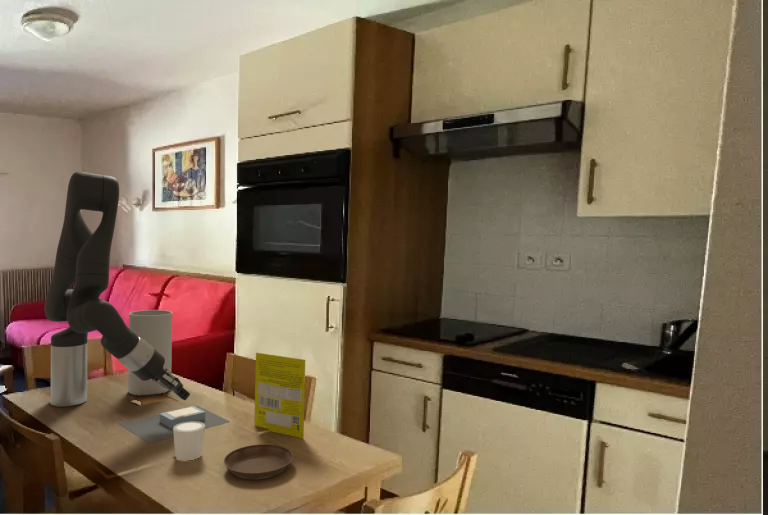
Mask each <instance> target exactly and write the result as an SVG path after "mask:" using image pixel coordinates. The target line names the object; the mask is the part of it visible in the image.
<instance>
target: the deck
mask: <svg viewBox="0 0 768 515" xmlns="http://www.w3.org/2000/svg"><path fill="white" fill-rule="evenodd" d="M195 406H196V405H195ZM195 406H194V405H191V406H187V407H184V408H179V409H174V410H169V411H166V412H165V411H164V412H161V413H160V412H159V414H160V422H161V423H163V424H164V425H166V426H168V427H169V428H173V427H174V426H175V425H177V424H180V423H183V422H191V421H195V422H199V421H203V420H205V411H203V410H201V409H199V408H197V407H195Z"/></svg>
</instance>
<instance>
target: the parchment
mask: <svg viewBox="0 0 768 515" xmlns="http://www.w3.org/2000/svg"><path fill="white" fill-rule="evenodd" d="M136 397H137V398H136ZM136 397H135V398H134V399H135V400H137V401H140V402H141V404H143V405H144V406H145V405H149V404H155V403H158V402H159V403H160V402H164V401H169V400H170V401H173V402H178V400H177V399H176V398H173V397H170V396H168V395H164V394H153V395H140V396H139V397H138V396H136ZM143 405H142V406H143Z"/></svg>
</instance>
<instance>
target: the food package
mask: <svg viewBox="0 0 768 515" xmlns="http://www.w3.org/2000/svg"><path fill="white" fill-rule="evenodd" d="M254 377H255V381H254V382H255V383H254V423H253V424H254V427H259V428H263V429H265V431H268V432H271V431H272V433H276V434H280V433H281V435H285V436H291V437H294V436H295V438H298V437H299V438H298V439H304V431H305V430H304V427H305V396H306V395H305V391H306V390H305V388H306V384H305V382H306V359H302V358H296V357H287V356H281V355H275V354H267V353H260V352H256V353H255V376H254Z"/></svg>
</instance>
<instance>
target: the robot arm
mask: <svg viewBox="0 0 768 515" xmlns="http://www.w3.org/2000/svg"><path fill="white" fill-rule="evenodd" d="M67 186H68V187H67V193H66V199H65V200H66V202H65V209H64V218H63V224H62V228H61V233H60V236H59V240H58V244H57V249H56V254H55V261H54V268H53V273H52V278H51V280H50V284H49V287H48V290H47V293H46V296H45V300H44V316H45V317H46V318H47V320H49V321H51V322H67V323H68V327H67V328H65V329H63V330H61V331H58V332H56V333H54V334H52V335H51V337H50V405H51V406H54V407H71V406H72V407H73V406H77V405H81V404H83V403H85V402H87V400H88V335H89V333H90V332H95V331H97V332H98V333H100V334H101V337H100V338H101V339H100V345H101V346H102V348H104V349H105V351H107V352H108V353H109V354H111V356H113V357H114V358H116V359H117V360H118V362H119V363H120V364H121V365H123V367H125V368H126V369H128V370H130V371H131V372H132V373H133V374H134V375H136V376H137V377H138V378H139V379H141V380H142V381H147V380H150V379H152V380H153V381H154V382H156V383H158V384H159V385H161V386H162V387H164V388H166V389H168V390H169V391H170V392H172V393H173V394H175V395H176V396H177V397H178V398H180V399H181V400H183V401H187V400H188V398H189V397H190V395H191V394H190V392H189V391H188V390H187V389H185V388H184V384H183V382H181V380H180V379H179V377H176V376H175V375H173V374H172V370H171V371H169V370H168V369H167V368H166V369H165V368H164V367H163V366H164V364H165V358H164V357H163V356H162V355H161V354H160V353H159V352H158V351H156V350H155V349H154V348H153V347H152V346H151V345H150V344H148V343H147V342H146V341H145V340H143V339H142V338H140V337H139V336H138V335H136V334H135V333H134V332H133V331H132V330H131V329H129V326H127V324H126V323H125V320H124V319H123V317H122V316H121V314H120V313H119V311H118V310H117V309H116V308H115V306H114V305H112V304H111V303H110V302H108V301H106V300H105V299H101V298H100V297H101V294H103V293H104V292H105V291H106V290H107V289H108V288H109V283H110V261H111V260H110V259H111V249H112V244H113V237H114V234H115V232H114V231H115V229H116V228H115V227H116V221H117V215H118V214H117V213H118V208H119V207H118V206H119V201H120V183H119V181H118V179H117V178H116V177H114V176H110V175H106V174H97V173H92V172H86V171H85V172H84V171H75V172H73V174H72V175H71V176H70V179H69V181H68V185H67ZM81 210H83V211H84V210H85V211H91V212H92V211H93V212H101V213H102V217H101V221H100V223H99V224H98V226H97V228H96V229H95V230H94V232H93V231H91V228H90V227H89V226H88V225H87V223H86V222H85V220H84V218H83V215H82V212H81ZM73 285H74V288H71V286H73Z"/></svg>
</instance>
